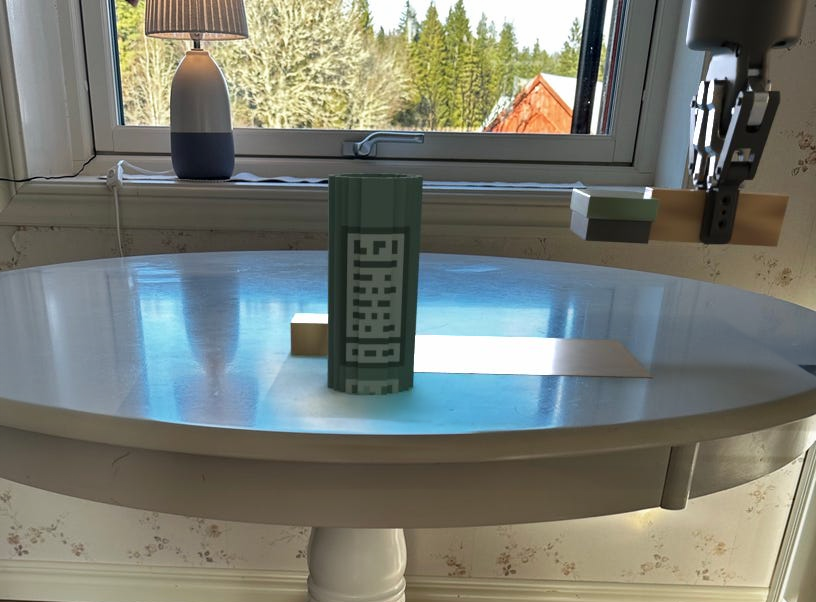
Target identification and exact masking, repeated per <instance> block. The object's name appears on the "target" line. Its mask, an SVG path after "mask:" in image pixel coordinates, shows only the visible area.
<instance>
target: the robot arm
mask: <svg viewBox="0 0 816 602" xmlns="http://www.w3.org/2000/svg"><path fill="white" fill-rule="evenodd" d="M808 1H809V0H691V3H690V9H689V10H690V11H689V19H688V25H687V31H686V39H685V44H686V47H687V48H688V49H689V50H691V51H697V52H710V53H711V59H710V61H709V67H708V71H707V73H706V78H705V80H702V81H701V83H700V85H699V89H698V94H693V96H692V99H691V101H690V106H689V107H690V122H689V123H690V125H689V126H690V127H689V152H688V153H689V154H688V166H687V169H688V174H689V176H692V182H693V185H694V186H695V189H698V190H707V191H706V192H707V193H706V199H705V205H704V211H703V217H702V223H701V230H700V236H699V239H700V241H701V242H702V243H701V244H704V245H712V246H713V245H728V244H727V243H729V242H730V240H731V238H732V233H733V227H734V222H735V216H736V211H737V205H738V199H739V194H740V192H741V189H744V188H745V187H746V184H747V181H753V180H754V179H755V177H756V175H757V172H758V168H759V166H760V162H761V159H762V157H763V153H764V151H765V147H766V145H767V141H768V138H769V135H770V133H771V129H772V127H773V125H774V121H775V118H776V115H777V112H778V108H779V106H780V104H781V91H780V90H771V89H772V81H771V78H770V79H769V77H770V66H771V65H770V63H771V51H772V50H781V49H788V48H792V47H794V46H796V45H797V44H798V43H799V42H800V40H801V37H802V34H803V33H802V32H803V27H804V22H805V17H806V13H807V7H808ZM736 154H737V160H735V158H736V157H735V156H736Z"/></svg>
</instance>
